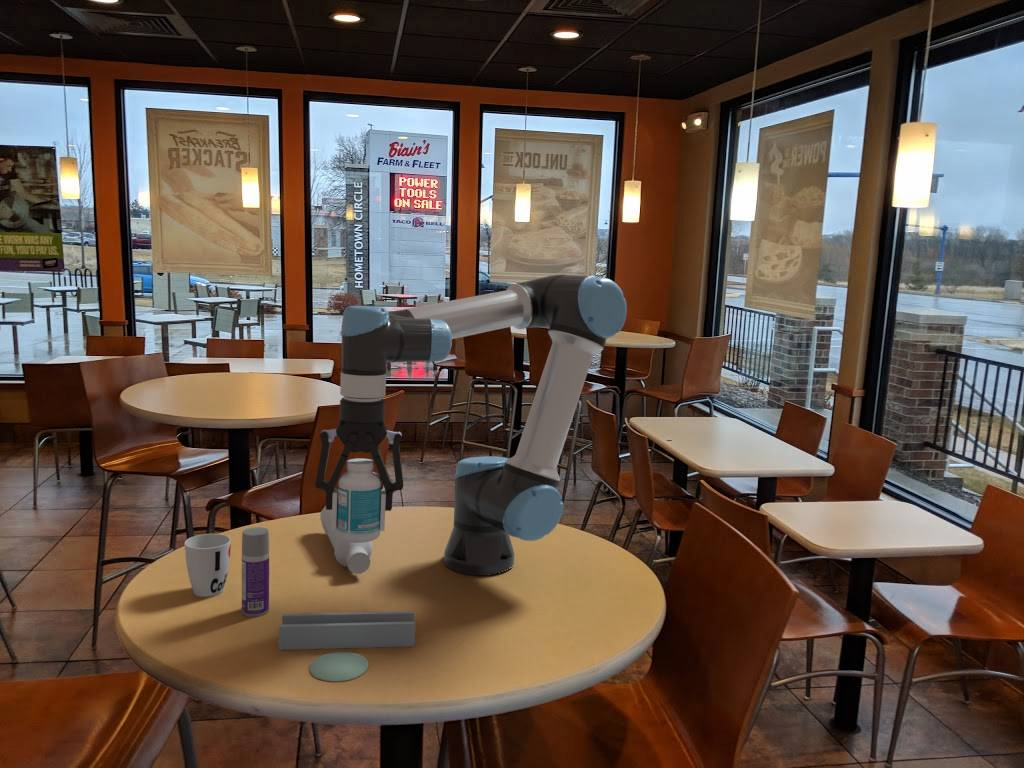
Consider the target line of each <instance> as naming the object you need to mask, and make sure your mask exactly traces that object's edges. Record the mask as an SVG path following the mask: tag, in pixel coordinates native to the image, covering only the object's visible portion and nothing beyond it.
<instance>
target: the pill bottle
mask: <svg viewBox="0 0 1024 768" xmlns="http://www.w3.org/2000/svg"><path fill="white" fill-rule="evenodd" d="M345 465H346V467H345V468H346V470H347V471H346V472H343V473H341V474H340V476H339V478H338V480H337V489H338V503H337V535H338V537H339V538H340V539H341V540H343V541H346V542H352V543H363V542H369V541H371V542H372V541H375V540H377V539H378V538H379V537H380V535H381V531H380V516H381V492H382V490H383V489H382V487H383V483H382V480H381V477H380V475H379V473H377V472H374V469H375V462H374V459H369V458H361V457H360V458H350V459H347V460H346V464H345Z"/></svg>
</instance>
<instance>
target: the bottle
mask: <svg viewBox="0 0 1024 768" xmlns="http://www.w3.org/2000/svg"><path fill="white" fill-rule="evenodd" d="M319 520H320V522H321V525H322V528H323V530H324V533H325V535H327V536H328V538H329V541H330V543H331V545H332V548H333V549H334V554H333V555H334V557H335V559H336V561H337V562H338V563H339V564H340V565H341V566H343V567H346V568H347V569H348V571H349V572H351V573H353V574H355V575H358V574H359V575H361V574H362V573H365V572H366V571H367V570H368V569H369V568H370V567H371V566H370V565H371V556H372V553H373V545H374V544H373V542H372V541H369V542H363V543H352V542H346V541H343V540H341V539H340V538H339V537H338V535H337V529H336V530H332V510H327V509H326V505H325V506H324V507H323V508H322V509H321V511H320V519H319Z"/></svg>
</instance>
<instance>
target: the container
mask: <svg viewBox="0 0 1024 768" xmlns="http://www.w3.org/2000/svg"><path fill="white" fill-rule="evenodd" d="M269 530H270V529H268V528H266V527H262V526H254V527H253V526H252V527H248V528H245V529H243V530H242V535H241V614H242V615H243V616H246V617H250V618H251V617H252V618H253V617H255V618H256V617H261V616H264V615H266V614H267V613H268V612H270V540H269V539H270V536H269V535H270V534H269Z"/></svg>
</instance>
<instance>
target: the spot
mask: <svg viewBox="0 0 1024 768" xmlns="http://www.w3.org/2000/svg"><path fill="white" fill-rule="evenodd" d="M368 668H369V662H368V660H367V658H366V657H365V656H362V655H361V654H358V653H355V652H349V651H336V652H335V651H334V652H329V653H326V654H322V655H320V656H319V657H316V658H315V659H313V660H312V661H311V663H310V665H309V672H310V674H311V675H312V676H313V677H314V678H316V679H318V680H320V681H324V682H332V683H337V682H338V683H341V682H348V681H352V680H354V679H357V678H359V677H361V676H362V675H364V674H365V673H366V672H367V671H368Z"/></svg>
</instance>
